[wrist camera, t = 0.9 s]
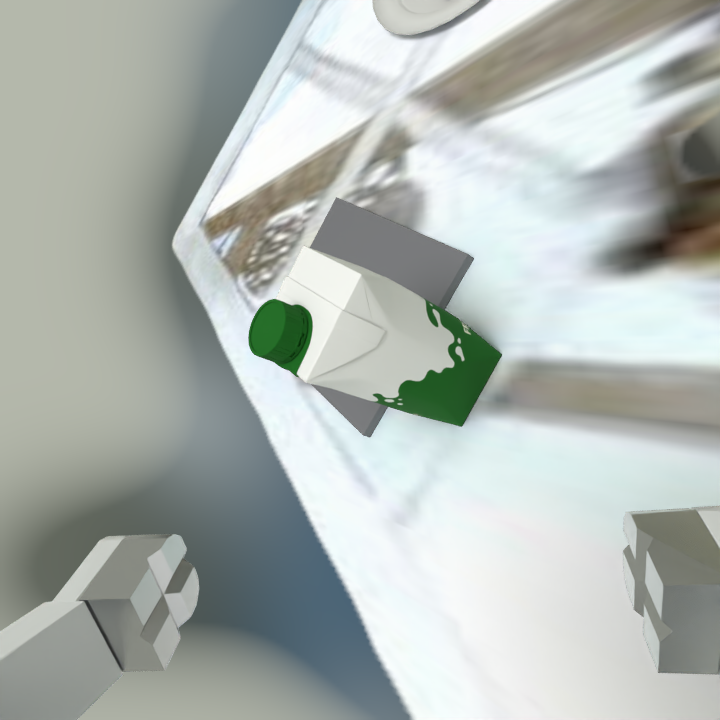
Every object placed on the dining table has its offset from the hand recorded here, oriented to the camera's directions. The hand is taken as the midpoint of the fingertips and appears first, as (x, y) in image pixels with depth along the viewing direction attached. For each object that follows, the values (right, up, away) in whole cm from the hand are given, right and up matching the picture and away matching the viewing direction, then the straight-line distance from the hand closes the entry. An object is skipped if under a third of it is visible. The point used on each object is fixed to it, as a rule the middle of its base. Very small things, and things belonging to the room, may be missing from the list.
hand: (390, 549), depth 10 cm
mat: (-1, +10, +52) cm, 52 cm away
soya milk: (+8, +2, +39) cm, 40 cm away
